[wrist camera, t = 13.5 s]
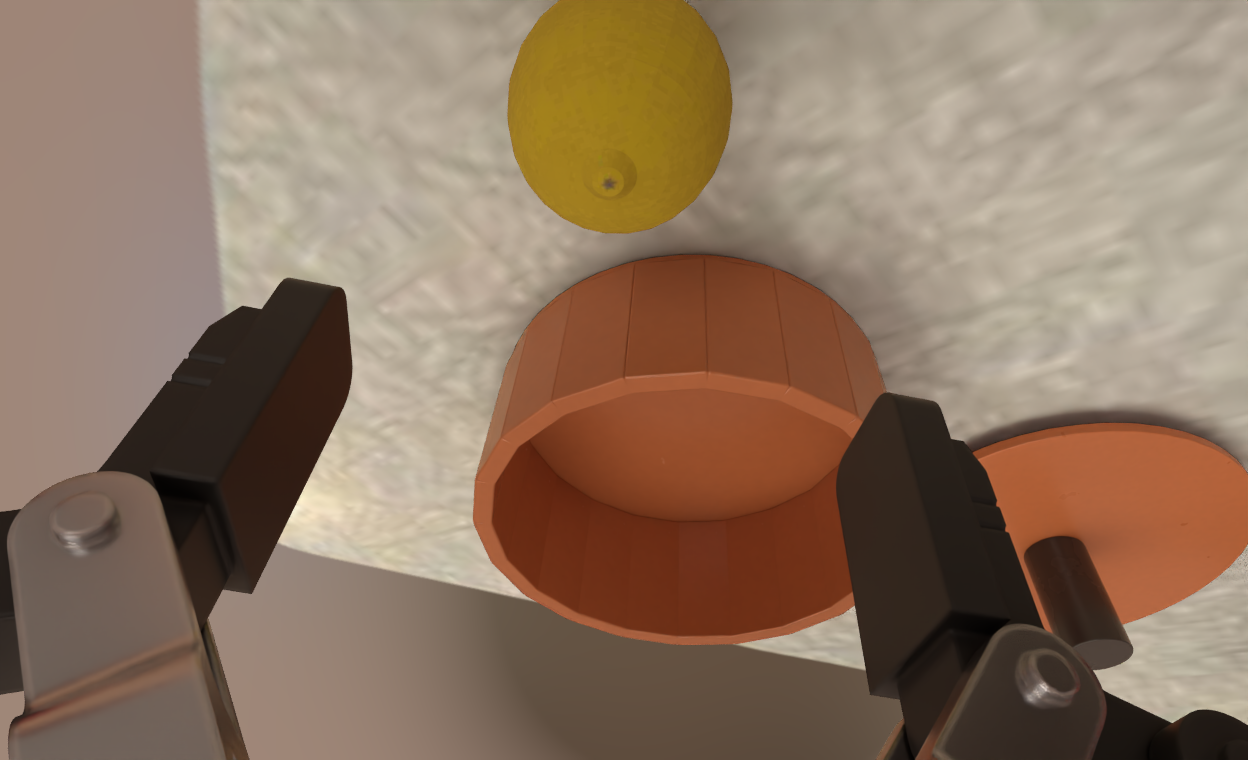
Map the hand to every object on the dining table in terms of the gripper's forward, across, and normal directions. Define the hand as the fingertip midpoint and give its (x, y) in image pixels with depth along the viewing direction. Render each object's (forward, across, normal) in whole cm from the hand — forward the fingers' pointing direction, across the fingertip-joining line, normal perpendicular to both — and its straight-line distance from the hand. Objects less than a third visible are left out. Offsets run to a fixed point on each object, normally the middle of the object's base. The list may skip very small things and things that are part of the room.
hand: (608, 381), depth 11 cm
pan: (+14, -5, +14) cm, 20 cm away
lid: (+13, -23, +18) cm, 32 cm away
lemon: (+14, +1, 0) cm, 14 cm away
